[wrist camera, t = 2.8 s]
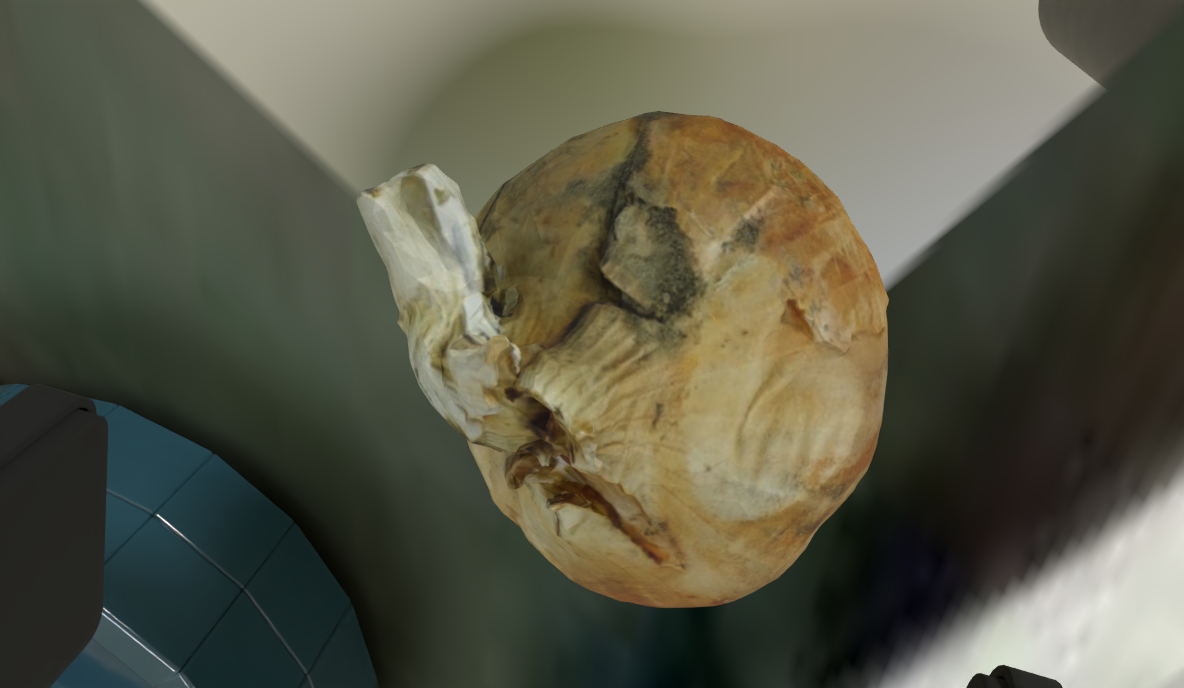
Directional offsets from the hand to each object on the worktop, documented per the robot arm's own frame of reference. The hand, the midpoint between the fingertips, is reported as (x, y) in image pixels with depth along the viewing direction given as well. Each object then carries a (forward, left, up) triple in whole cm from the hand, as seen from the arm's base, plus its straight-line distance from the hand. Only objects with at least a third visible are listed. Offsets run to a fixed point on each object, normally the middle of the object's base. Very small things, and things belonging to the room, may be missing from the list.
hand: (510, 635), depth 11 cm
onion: (0, 0, -11) cm, 11 cm away
